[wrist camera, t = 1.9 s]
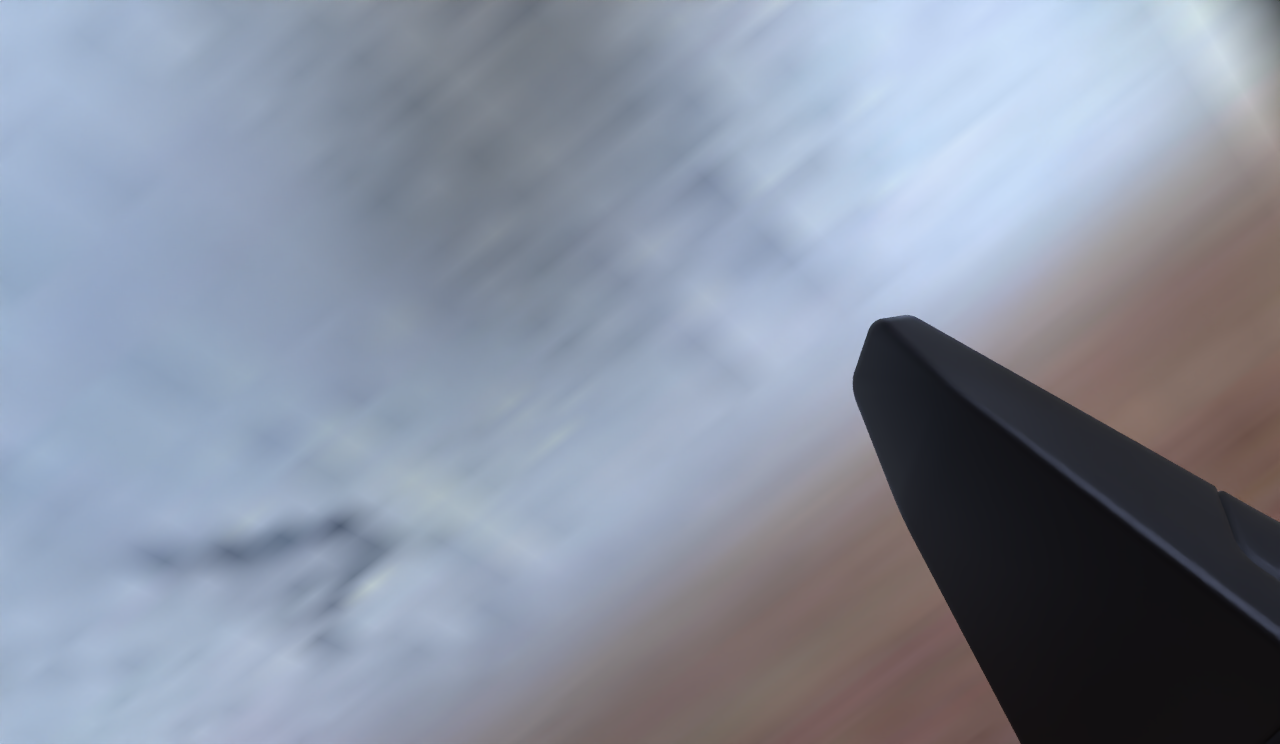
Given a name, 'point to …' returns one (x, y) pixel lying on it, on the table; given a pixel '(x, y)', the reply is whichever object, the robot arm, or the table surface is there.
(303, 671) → the table surface
